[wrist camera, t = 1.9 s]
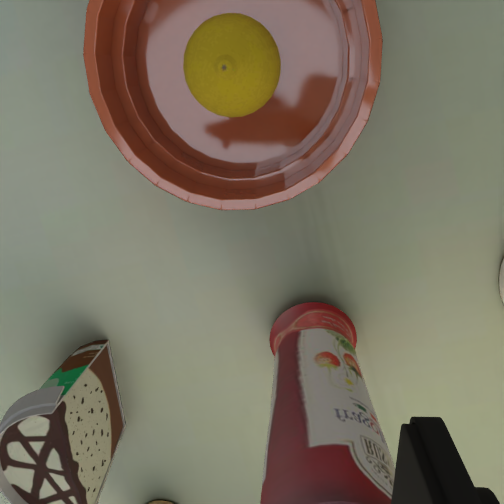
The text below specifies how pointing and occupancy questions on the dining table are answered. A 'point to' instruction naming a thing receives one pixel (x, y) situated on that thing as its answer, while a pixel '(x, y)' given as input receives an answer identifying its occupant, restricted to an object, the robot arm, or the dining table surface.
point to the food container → (64, 433)
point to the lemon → (232, 65)
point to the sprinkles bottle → (160, 502)
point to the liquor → (322, 416)
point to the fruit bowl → (233, 128)
